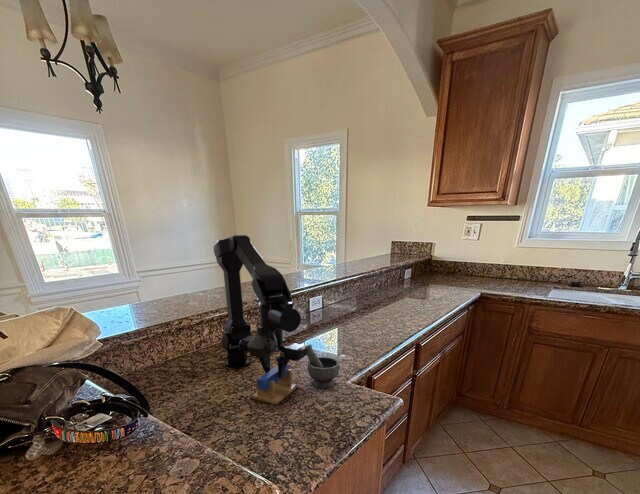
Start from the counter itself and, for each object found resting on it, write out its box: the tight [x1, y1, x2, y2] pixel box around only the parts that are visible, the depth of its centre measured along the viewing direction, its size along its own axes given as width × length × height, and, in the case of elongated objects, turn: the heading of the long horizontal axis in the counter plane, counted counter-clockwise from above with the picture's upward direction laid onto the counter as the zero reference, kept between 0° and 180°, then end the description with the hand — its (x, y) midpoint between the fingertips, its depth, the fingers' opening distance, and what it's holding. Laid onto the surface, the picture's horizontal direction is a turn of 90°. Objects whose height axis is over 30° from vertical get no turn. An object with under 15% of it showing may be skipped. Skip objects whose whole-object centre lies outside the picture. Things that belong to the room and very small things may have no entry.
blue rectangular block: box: [256, 363, 290, 390], centre depth 99 cm, size 13×2×3 cm, turn 155°
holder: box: [251, 366, 298, 405], centre depth 100 cm, size 12×8×6 cm
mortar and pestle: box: [305, 344, 340, 389], centre depth 106 cm, size 11×9×12 cm
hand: (274, 376), depth 99 cm, fingers open, 4 cm apart
